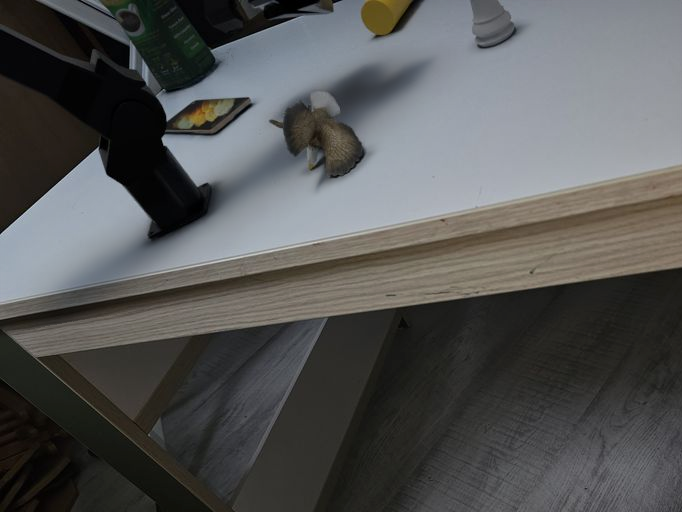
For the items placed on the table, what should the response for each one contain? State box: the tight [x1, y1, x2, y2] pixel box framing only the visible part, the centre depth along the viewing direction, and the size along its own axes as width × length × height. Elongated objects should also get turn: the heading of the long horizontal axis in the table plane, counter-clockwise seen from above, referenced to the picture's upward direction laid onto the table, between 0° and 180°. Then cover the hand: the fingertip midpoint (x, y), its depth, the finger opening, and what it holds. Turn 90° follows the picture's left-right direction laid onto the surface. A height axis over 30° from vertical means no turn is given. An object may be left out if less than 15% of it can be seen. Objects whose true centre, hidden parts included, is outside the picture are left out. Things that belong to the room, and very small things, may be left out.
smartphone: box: [165, 96, 252, 134], centre depth 91 cm, size 7×1×15 cm
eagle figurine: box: [268, 90, 363, 177], centre depth 65 cm, size 8×7×9 cm
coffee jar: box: [98, 0, 217, 91], centre depth 103 cm, size 10×8×19 cm
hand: (330, 8), depth 78 cm, fingers closed
